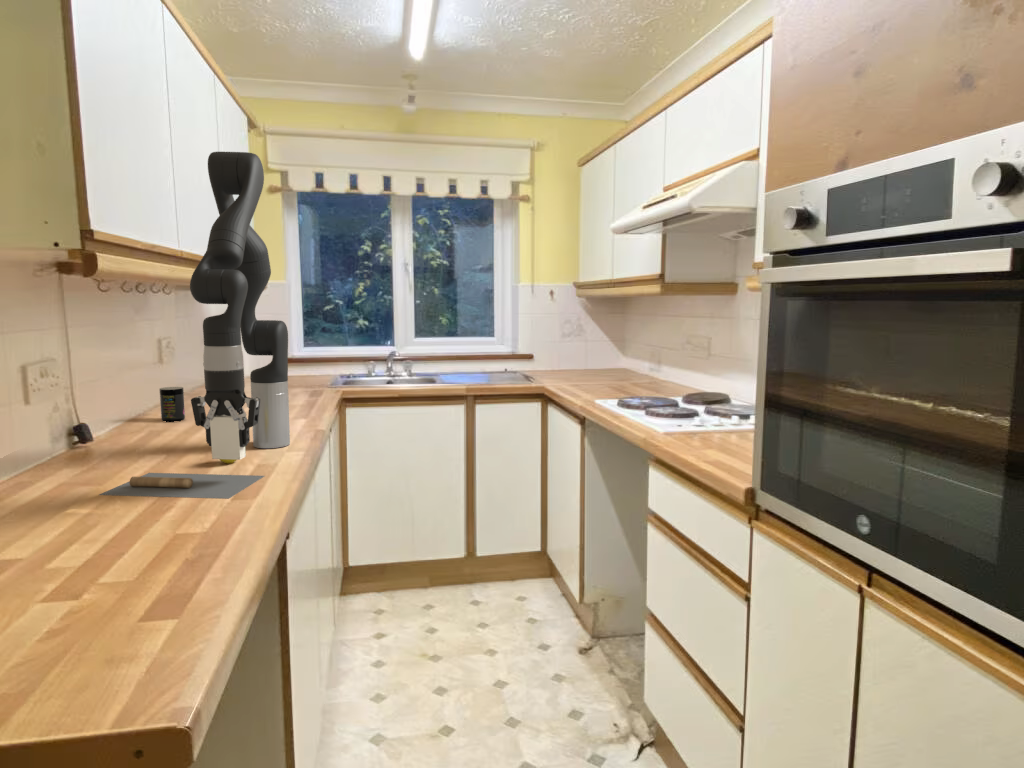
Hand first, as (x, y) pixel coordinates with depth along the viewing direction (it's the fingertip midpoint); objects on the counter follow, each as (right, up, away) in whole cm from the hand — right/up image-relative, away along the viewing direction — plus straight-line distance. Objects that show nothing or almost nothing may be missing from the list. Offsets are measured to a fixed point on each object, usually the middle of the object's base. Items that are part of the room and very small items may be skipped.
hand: (228, 445), depth 133 cm
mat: (-7, -8, -3) cm, 12 cm away
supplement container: (-48, +1, +67) cm, 83 cm away
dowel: (-11, -9, -5) cm, 15 cm away
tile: (0, -3, 0) cm, 3 cm away
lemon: (-6, -6, +15) cm, 17 cm away
